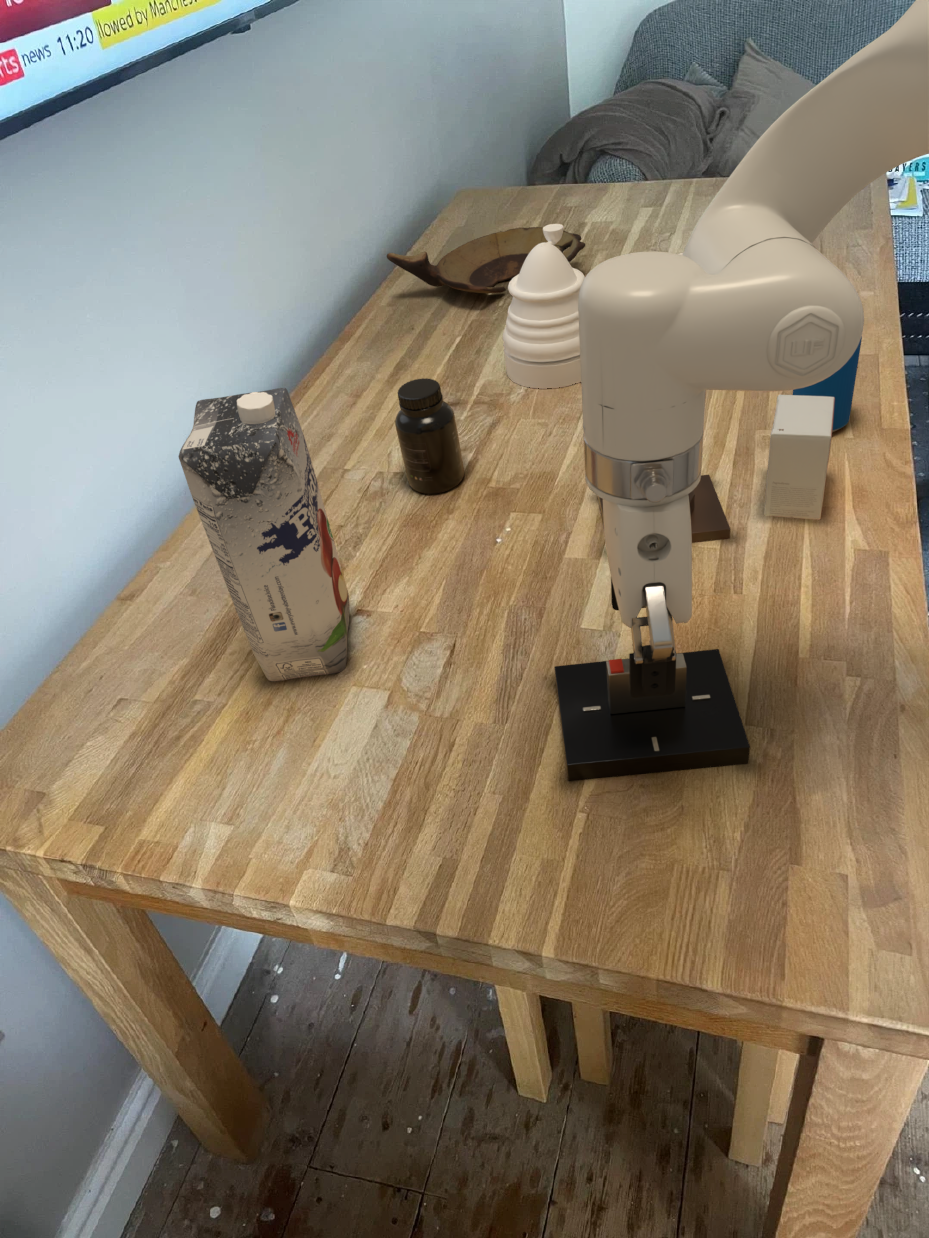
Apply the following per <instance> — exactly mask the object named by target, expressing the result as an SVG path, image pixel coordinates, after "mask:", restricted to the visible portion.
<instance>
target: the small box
mask: <svg viewBox="0 0 929 1238" xmlns="http://www.w3.org/2000/svg"><path fill="white" fill-rule="evenodd" d="M834 402H835V397H827V396H802V395H793V394H778V395H777V396H776V406H775V413H774V417H773V424H772V428H771V432H770V436H769V448H768V460H767V470H766V471H767V473H766V474H767V475H766V484H765V496H764V497H765V498H764V505H763V506H764V508H763V515H764V517H765V516H766V517H779V518H788V519H789V518H792V519H805V520H818V521H819V520H821V518H822V512H823V511H822V510H823V503H824V496H825V489H826V482H827V476H828V475H827V474H828V467H829V461H830V453H831V447H832V439H833V438H832V437H833V432H832V430H833V417H834Z"/></svg>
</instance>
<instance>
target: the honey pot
mask: <svg viewBox="0 0 929 1238" xmlns="http://www.w3.org/2000/svg"><path fill="white" fill-rule="evenodd" d="M563 231H564V225H563V224H562V223H551V224H546V225H545V226H543V233H544V236H545V238H546V240H547V241H548V242H544V243H540V244H538V245H536V246H535V247H534V248H533V249H532V250H531V251H530V253H529V254H528V256H527V257H526V259H525V261H524V263H523V266H522V268H521V270H520V273H519V274H518V275H517V276H515V277H514V278H511V279H510V280H509V282H508V285H507V290H508V293H509V294H510V295H511V296H512V297H511V301H510V304H509V306H508V308H507V316H506V321H505V327H504V328H503V331H502V341H503V356H504V363H505V372H506V375H507V377H508V378H509V379H510V380H511V381H512V383H515V384H517V385H519V386H521V387H525V388H529V387H530V389H538V388H539V390H548V389H547V388H552V389H559V387H560V388H565V387H570V386H573V385H576V384H579V383H581V364H580V340H579V317H578V297H579V291H580V288H581V285H582V282H583V280H584V278H585V277H586V276H585V275H584V273H583V272H582V271H581V270H579V269H578V268H574V267H572V265H571V264H570V262H568V260H567V259H566V257H565V256H564V255H563V253H564V252H563V253H562V252H561V251H560V250H559V249H558V248H557V247H555V246H554V245H555V244H556V243H557V242H558V241H559V240H560V239H561V237H562V234H563ZM575 383H576V384H575ZM572 384H573V385H572Z"/></svg>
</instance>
